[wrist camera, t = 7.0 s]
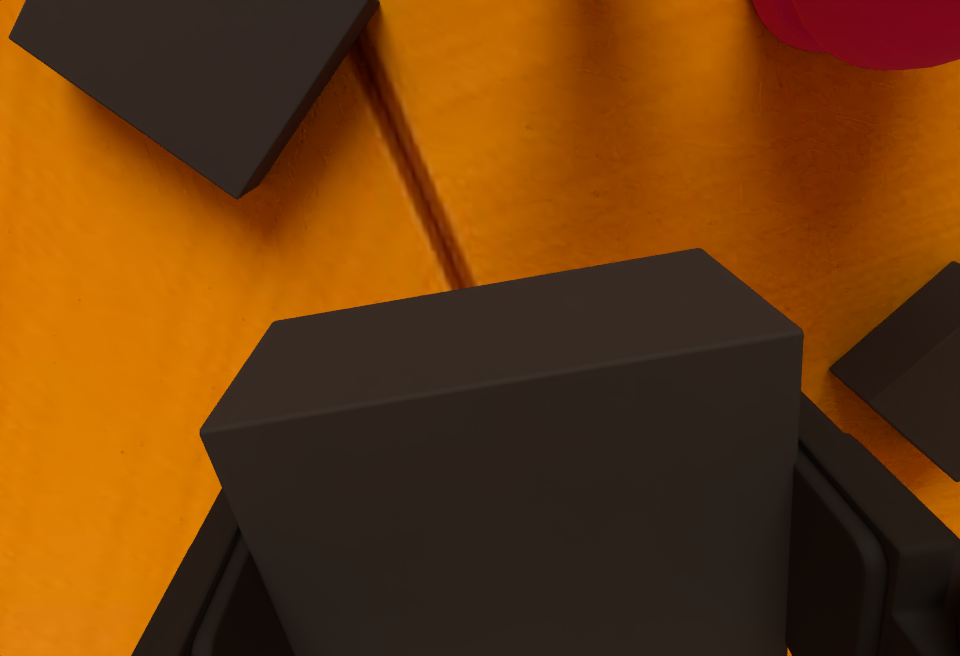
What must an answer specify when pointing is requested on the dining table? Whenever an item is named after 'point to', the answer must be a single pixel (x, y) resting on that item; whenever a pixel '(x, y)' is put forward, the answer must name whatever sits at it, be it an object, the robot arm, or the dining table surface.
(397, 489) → the pad
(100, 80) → the base pad
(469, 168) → the dining table surface
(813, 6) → the pepper mill
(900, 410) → the pad
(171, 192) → the dining table surface
